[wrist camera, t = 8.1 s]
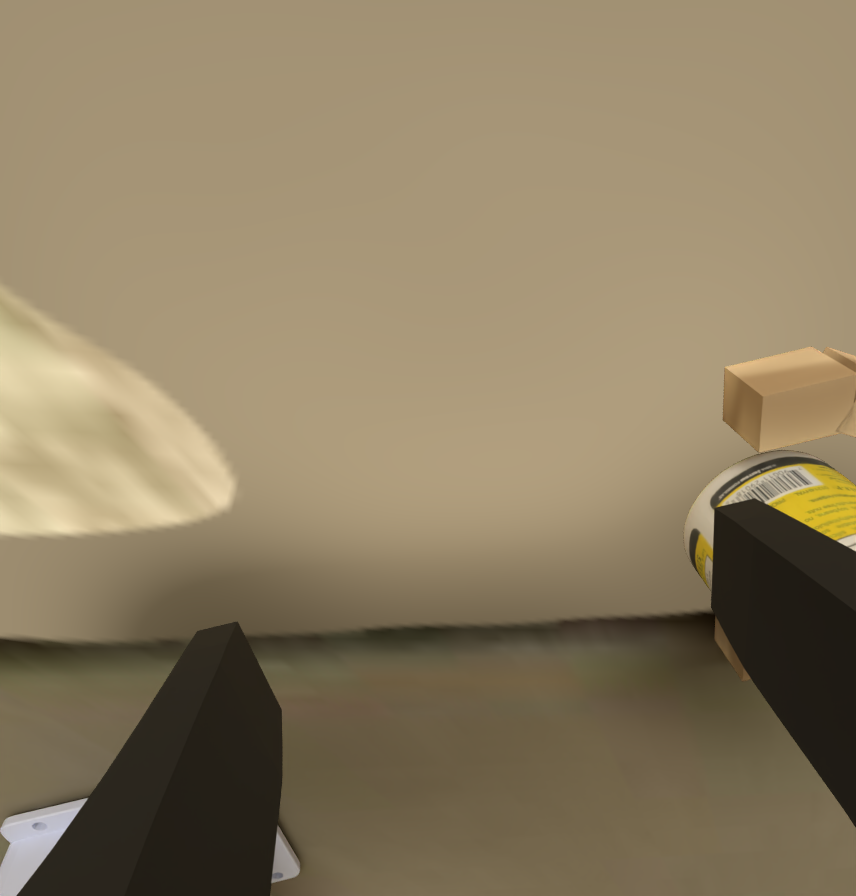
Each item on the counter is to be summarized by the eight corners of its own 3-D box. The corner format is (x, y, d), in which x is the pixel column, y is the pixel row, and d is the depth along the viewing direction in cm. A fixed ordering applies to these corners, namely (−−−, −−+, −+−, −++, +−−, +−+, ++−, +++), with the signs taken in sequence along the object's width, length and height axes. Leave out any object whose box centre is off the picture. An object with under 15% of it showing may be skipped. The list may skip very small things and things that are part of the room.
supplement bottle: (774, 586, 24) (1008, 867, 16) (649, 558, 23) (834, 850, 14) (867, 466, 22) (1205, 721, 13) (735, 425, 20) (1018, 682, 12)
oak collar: (714, 639, 25) (742, 681, 23) (724, 367, 19) (762, 396, 17) (894, 596, 25) (935, 635, 23) (961, 310, 19) (1022, 334, 17)
